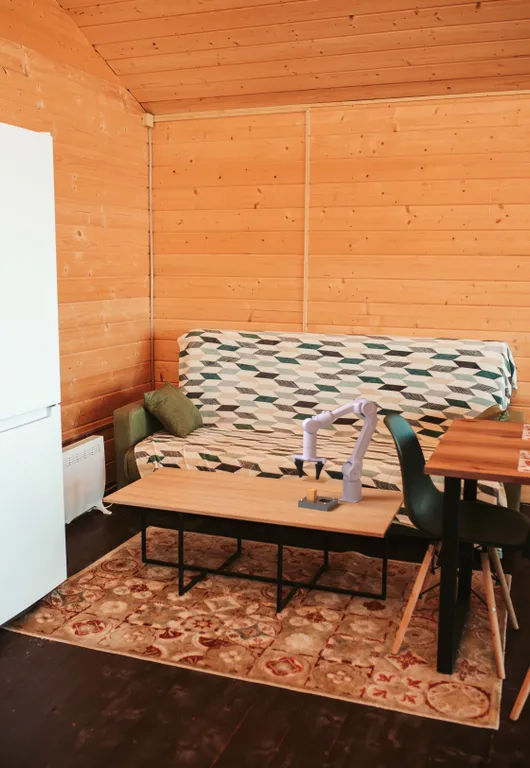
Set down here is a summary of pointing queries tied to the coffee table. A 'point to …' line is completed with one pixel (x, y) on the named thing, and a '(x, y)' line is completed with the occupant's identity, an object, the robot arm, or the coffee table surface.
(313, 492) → the orange rectangular block
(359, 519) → the coffee table surface
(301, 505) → the grey mounting plate
